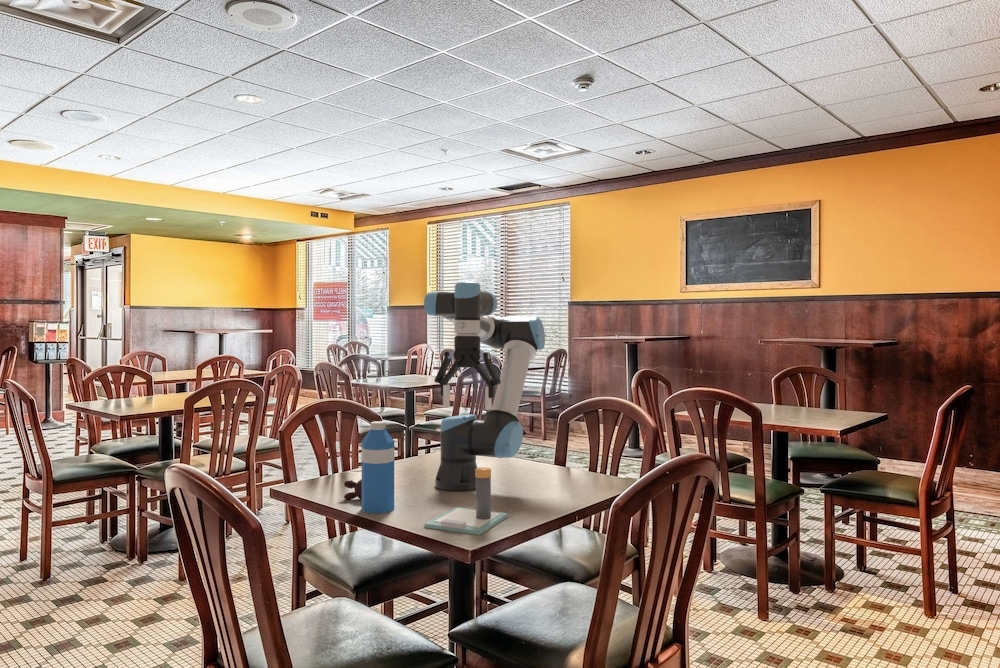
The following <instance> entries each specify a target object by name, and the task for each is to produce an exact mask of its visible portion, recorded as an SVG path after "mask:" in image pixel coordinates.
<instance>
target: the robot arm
mask: <svg viewBox="0 0 1000 668" xmlns="http://www.w3.org/2000/svg"><path fill="white" fill-rule="evenodd" d="M497 307H498V299H497V297H496V295H494V293H492V292H490V291H488V290H481V284H480V283H479V282H477V281H459V282H456V283H455V285H454V290H453V291H448V290H447V291H442V290H441V291H439V290H436V291H430V292H429V291H428V292H427V293H426V295H425V296H424V299H423V308H424V311H425V313H426V314H427V315H428V316H433V317H438V316H440V317H442V318H444V319H445V320H448V321H450V322H451V323H453V324H454V334H455V336H454V339H453V340H454V342H453V343H454V352H452V351H450V350H448V351H444V355H443V356H444V357H443V361H442V363H441V364H440V367H439V370H438V371H437V373H436V376H435V378H434V383H436V384H437V383H438V384H439V385H440V395H441V396H442V408H449V407H450V406H451V401H450V398H451V397H450V396H451V394H450V392H451V391H450V390H451V386H450V384H449V383H450V380H451V379H452V378H453V377H454V375H455V374H456V373H457V371H458V370H459V369H460V368H473V369H475V370H476V372H478V375H479V376H480V377H481V378H482V379H483V381H484V382H485V384H486V385H487V386H485V387H484V388H485V389H484V390H485V393H484V394H485V395H484V399H485V400H484V401H485V402H484V403H485V404H484V405H485V407H484V408H485V409H484V410H486V412H485V414H484V418H483V419H478V418H477V415H476V414H473V413H472V414H461V415H454V416H448V417H445V418H443V419H442V420H441V423H440V430H439V433H440V463H439V467H438V469H437V472H436V475H435V480H434V486H435V488H436V489H438V490H443V491H453V492H463V491H465V492H466V491H473V490H476V477H475V469H476V468H478V465H477V457H488V458H498V459H502V458H503V459H505V458H506V459H510V458H511V459H512V458H513V457H515V456H516V455H517V454H518V452H519V451H520V449H521V446H522V443H523V439H524V437H523V434H524V428H523V425H522V423H521V421H520V419H519V417H518V416H517V415H518V411H519V407H520V403H521V399H522V395H523V391H524V387H525V383H526V382H525V381H526V379H527V374H528V371H529V370H528V369H529V367H530V362H531V360H532V359H534V358H535V357H536V356H537V352H538V351H542V350H543V349H544V348H545V343H546V333H545V328H544V324H543V322H542V320H541V319H540V317H537V316H529V315H528V316H490V315H492V314H493V313H495V311H497ZM481 344H484V345H486V346H488V347H490V348H493V349H494V348H495V349H500V350H504V352H505V357H504V360H503V365H502V367H501V368H502V369H501V372H500V376H499V374H498V372H497V370H496V367H495V365H494V363H493V361H492V357H491V356H492V355H491V352H490V351H484V352H481ZM453 359H454V362H453V364H452V365H451V362H452V360H453ZM480 359H482V360H483V362H484V365H485V367H486V369H485V368H484V367H483V364H482V363H481V361H480ZM450 365H451V367H450V368H449V366H450ZM448 369H449V370H448ZM447 370H448V371H447ZM486 370H487V371H486ZM495 386H497V387H495ZM495 388H496V389H495ZM493 398H494V399H493ZM492 399H493V400H492ZM492 401H493V402H492Z"/></svg>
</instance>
